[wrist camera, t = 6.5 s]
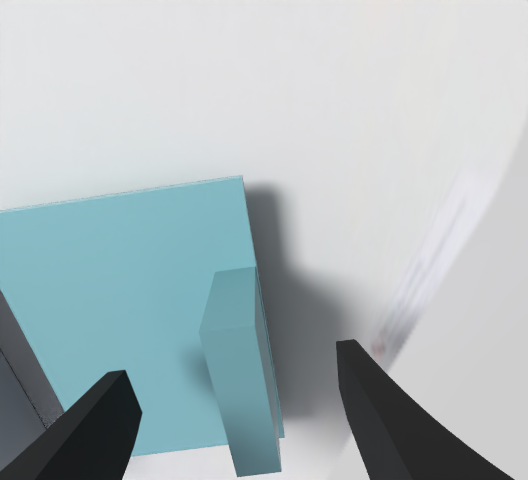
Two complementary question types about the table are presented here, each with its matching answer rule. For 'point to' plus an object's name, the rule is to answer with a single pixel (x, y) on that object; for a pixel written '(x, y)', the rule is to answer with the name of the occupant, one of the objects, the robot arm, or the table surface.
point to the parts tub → (15, 417)
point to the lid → (152, 312)
